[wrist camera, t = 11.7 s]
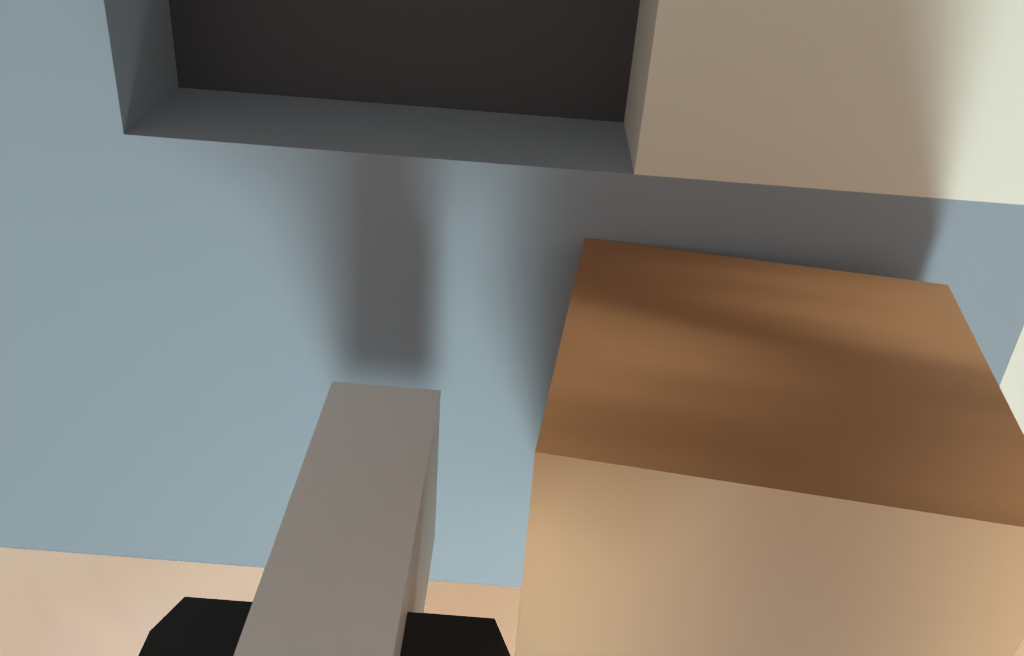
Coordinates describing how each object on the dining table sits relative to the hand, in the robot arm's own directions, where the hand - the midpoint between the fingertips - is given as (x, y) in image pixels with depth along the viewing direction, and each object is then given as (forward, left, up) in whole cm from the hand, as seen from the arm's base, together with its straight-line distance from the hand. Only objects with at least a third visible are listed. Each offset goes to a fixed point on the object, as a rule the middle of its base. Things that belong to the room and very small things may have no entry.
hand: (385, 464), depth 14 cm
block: (+5, +1, -1) cm, 5 cm away
